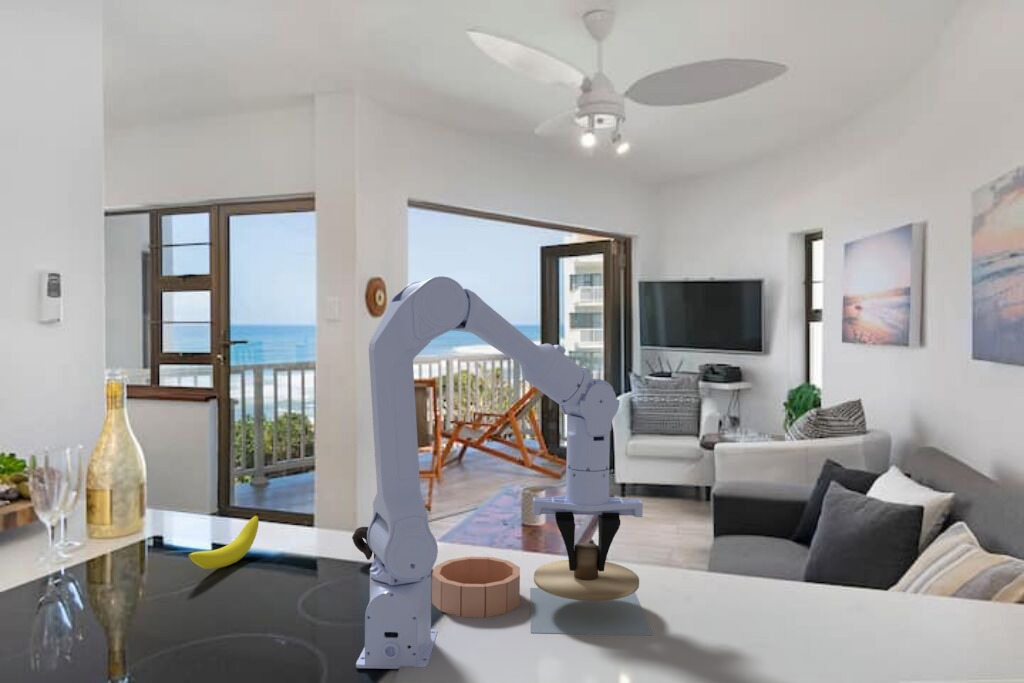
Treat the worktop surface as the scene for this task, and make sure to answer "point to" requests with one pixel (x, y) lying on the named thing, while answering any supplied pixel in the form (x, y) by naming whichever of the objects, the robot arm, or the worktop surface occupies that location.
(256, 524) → the banana
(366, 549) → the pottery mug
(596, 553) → the oak lid
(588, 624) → the rubber mat
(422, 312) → the robot arm
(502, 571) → the terracotta bowl
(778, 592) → the worktop surface
